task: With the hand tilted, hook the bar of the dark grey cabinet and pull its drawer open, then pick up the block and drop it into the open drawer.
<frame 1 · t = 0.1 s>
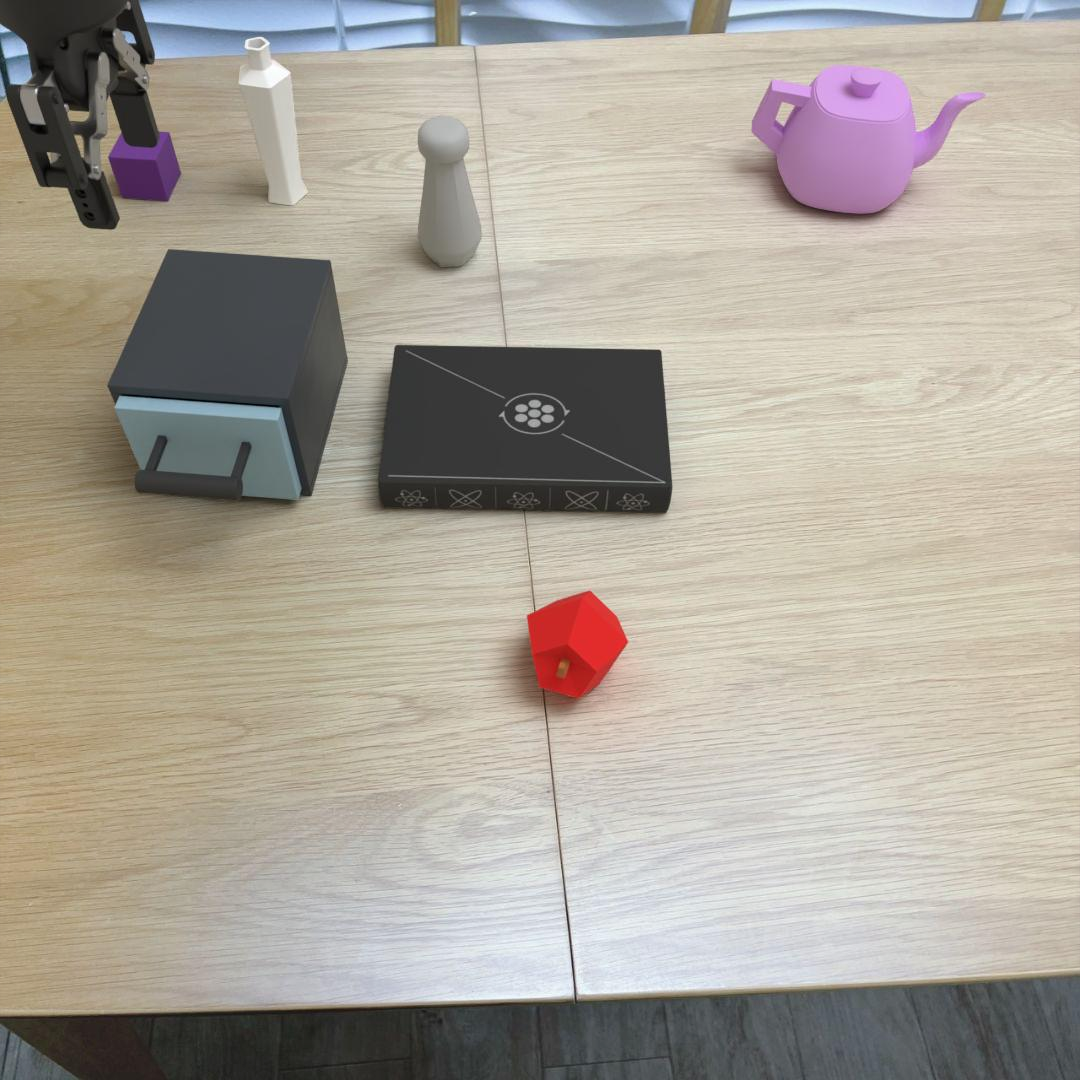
hand: (123, 183, 70), 22 cm above the table, tool pointing down, fingers open, 8 cm apart
book: (526, 441, 87), on the table
perfume bottle: (285, 196, 105), on the table
apple: (572, 665, 75), on the table
salt shaker: (451, 255, 100), on the table
block: (151, 185, 105), on the table
teapot: (844, 182, 108), on the table
drawer: (225, 411, 81), point 5 cm above the table, slide at 0.0 cm
dark grey cabinet: (253, 419, 88), on the table
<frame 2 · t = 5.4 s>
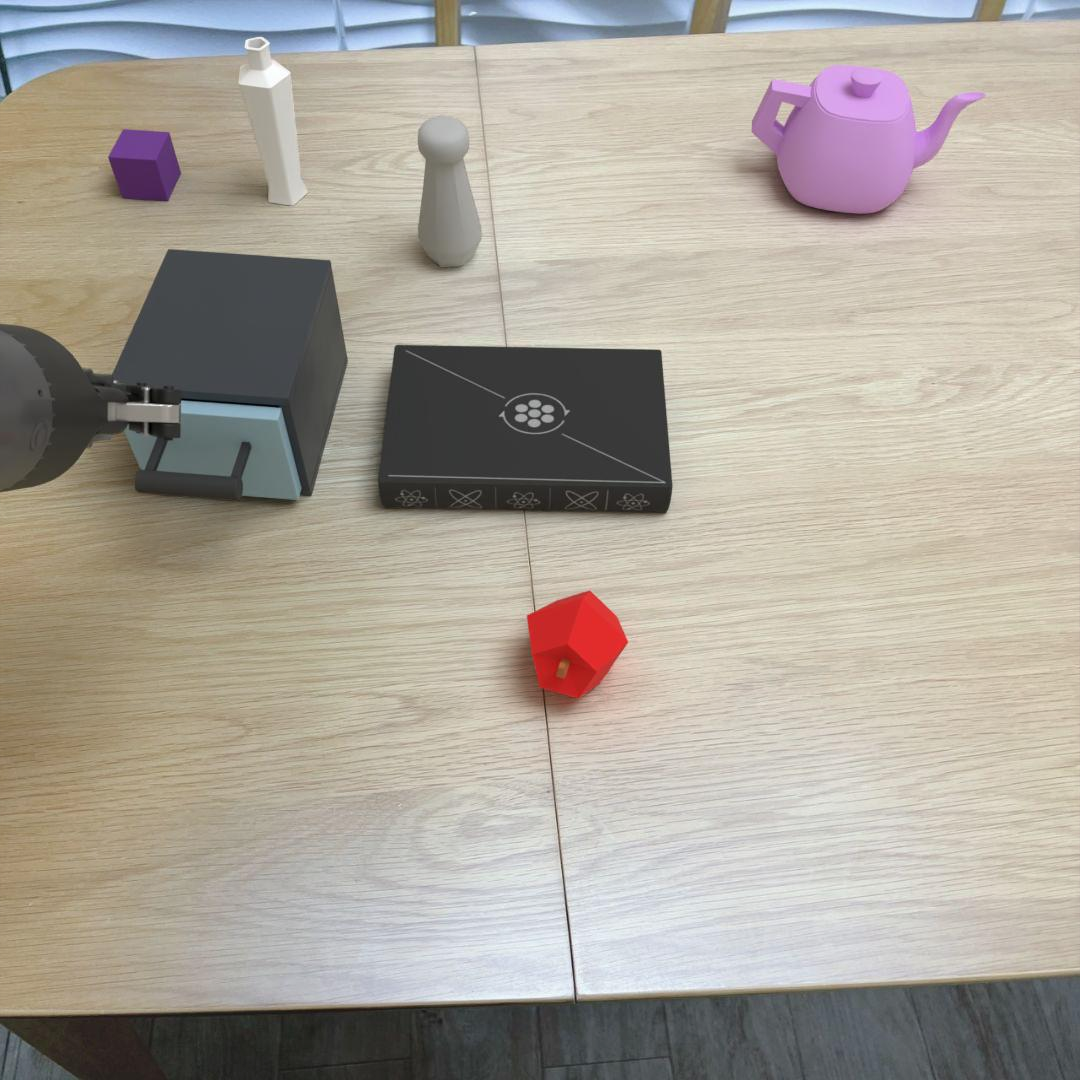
hand: (131, 403, 64), 18 cm above the table, tool tilted 45°, fingers closed
nothing on the table moved.
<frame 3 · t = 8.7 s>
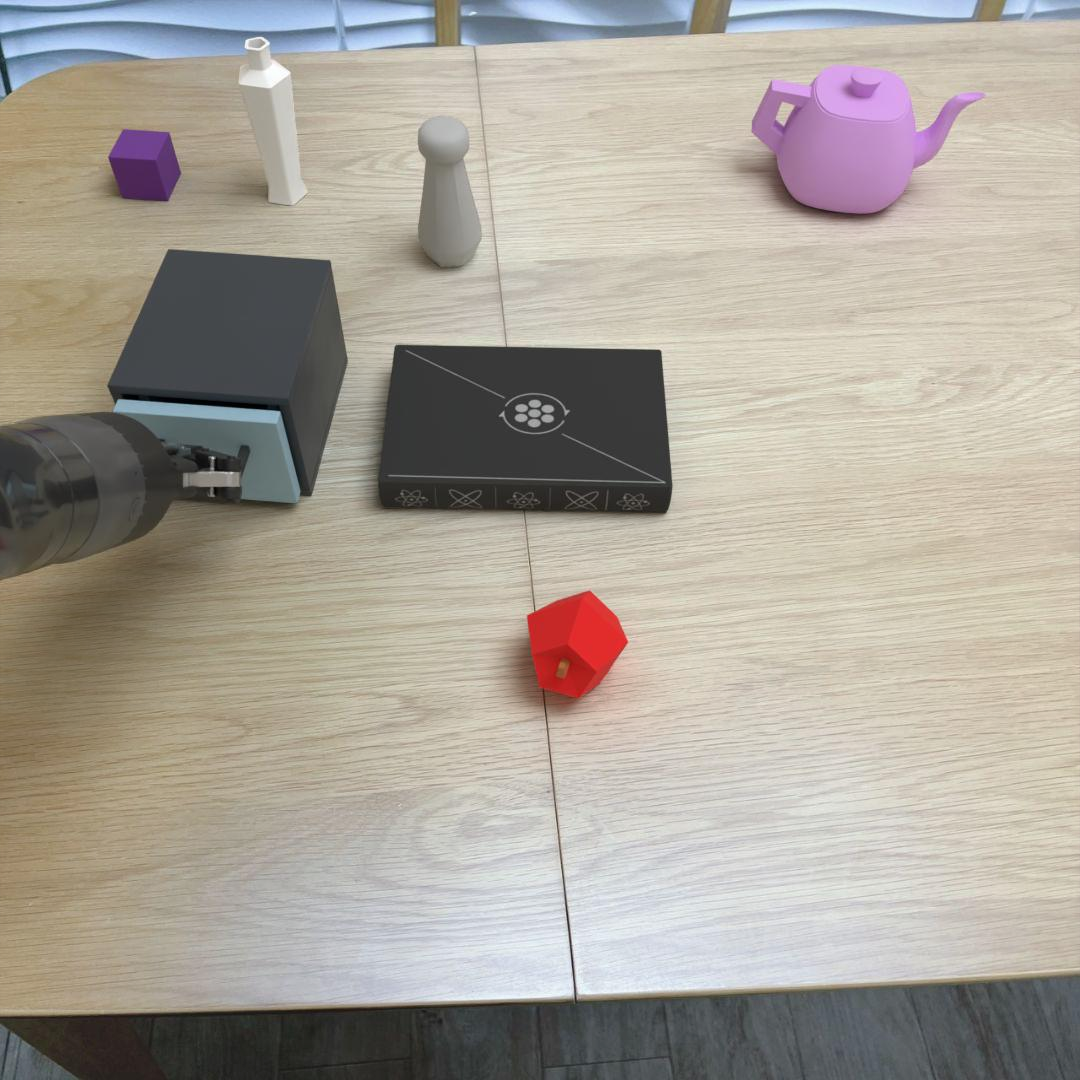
hand: (192, 460, 74), 8 cm above the table, tool tilted 45°, fingers closed
drawer: (224, 414, 81), point 5 cm above the table, slide at 0.3 cm, touching gripper
everything else where it was.
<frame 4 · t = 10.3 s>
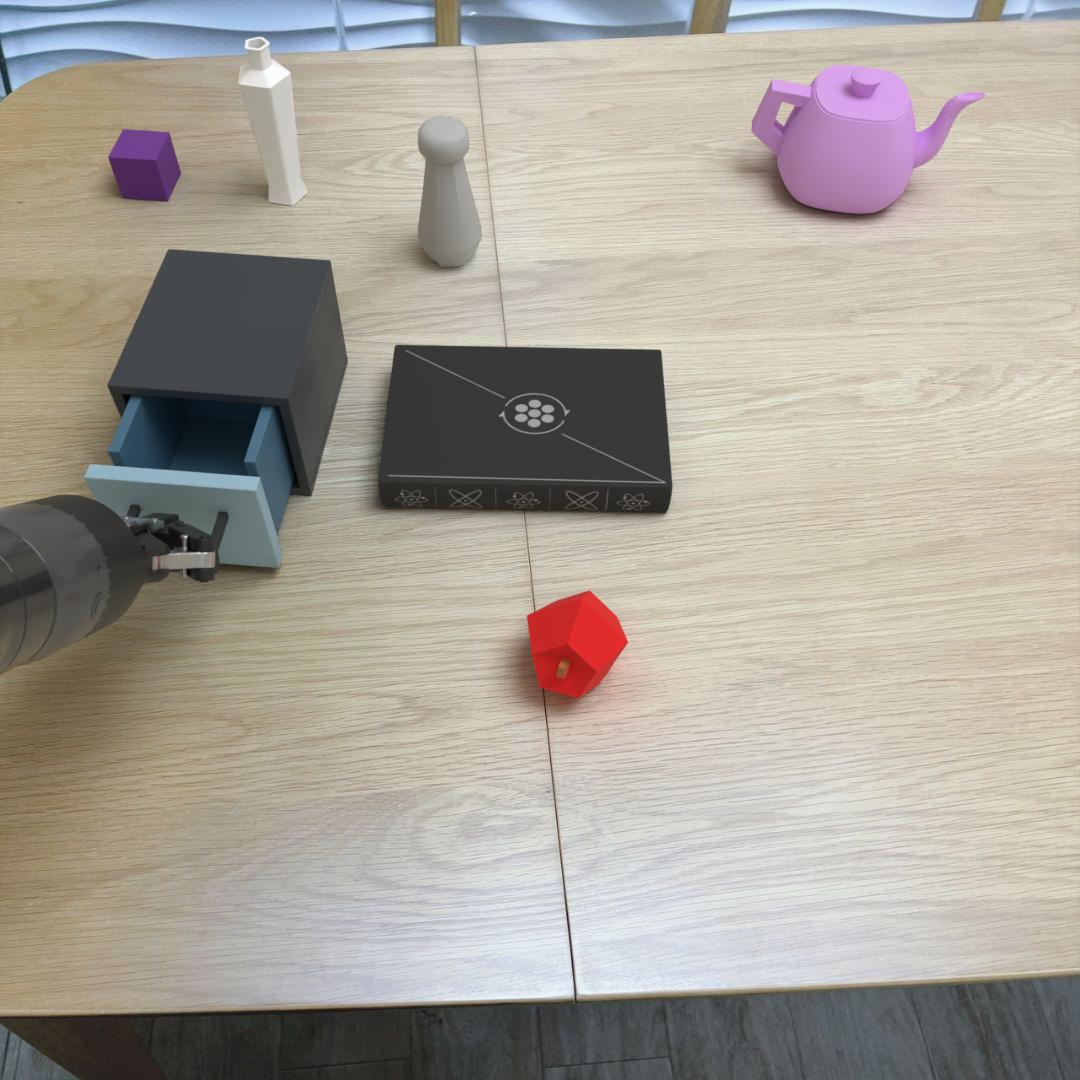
hand: (167, 529, 71), 8 cm above the table, tool tilted 45°, fingers closed
drawer: (202, 476, 77), point 5 cm above the table, slide at 6.2 cm, touching gripper
everything else where it was.
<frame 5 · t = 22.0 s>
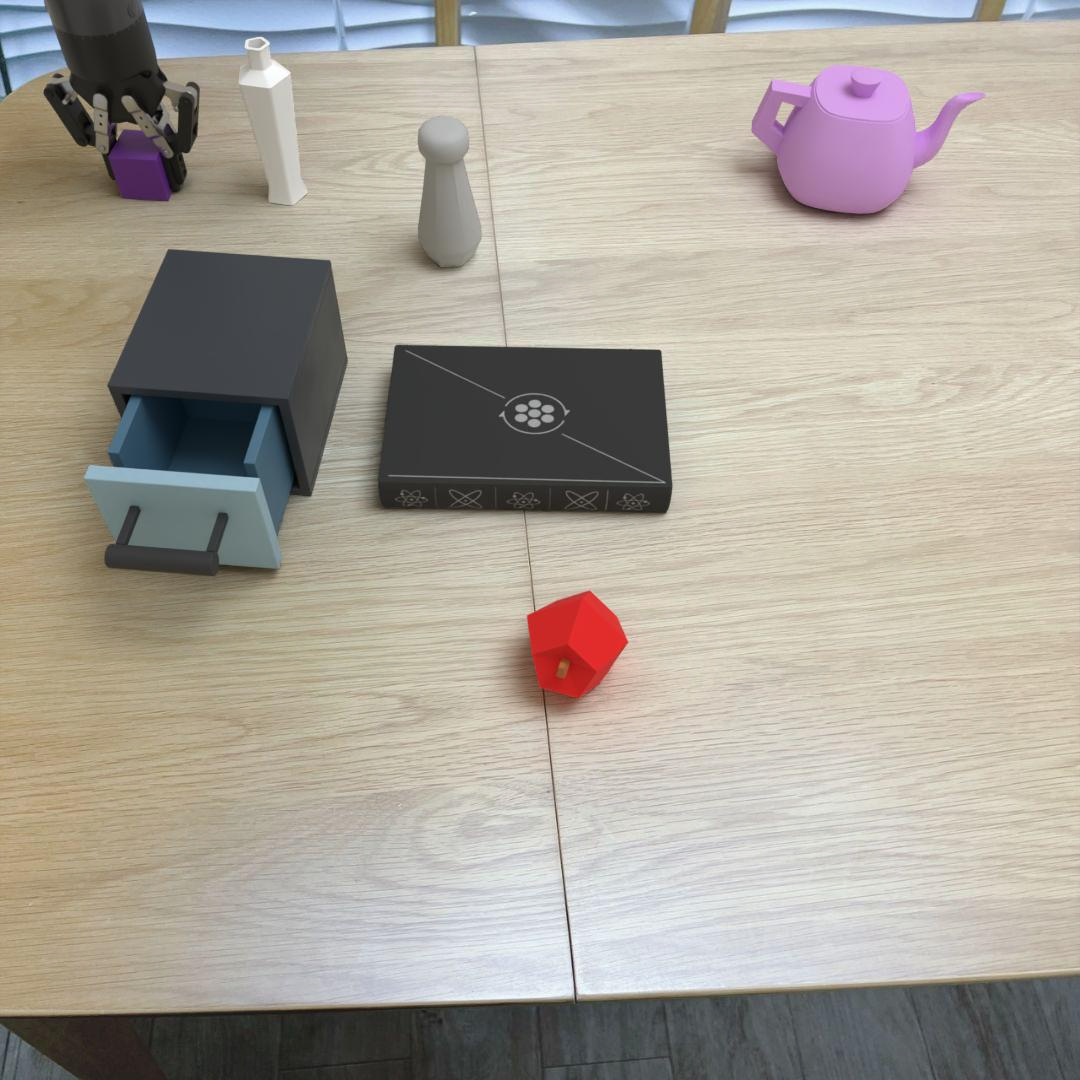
hand: (150, 182, 105), 0 cm above the table, tool pointing down, fingers closed on block, 4 cm apart
block: (152, 185, 105), on the table, touching gripper
drawer: (202, 477, 77), point 5 cm above the table, slide at 6.3 cm
everything else where it was.
when the fingers open (10 cm above the table, at t = 30.7 s): block drops 8 cm, resting on drawer.
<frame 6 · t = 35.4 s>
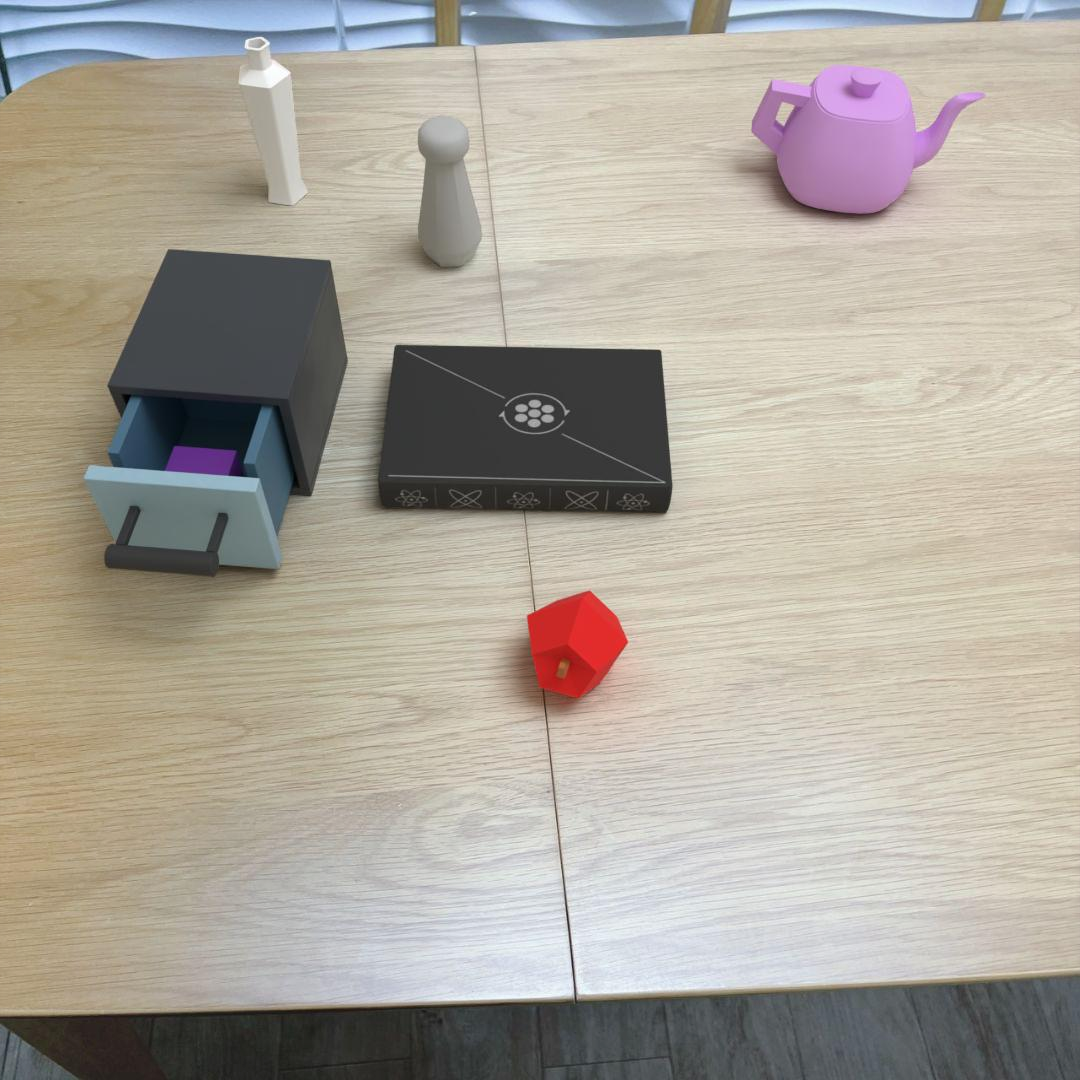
block: (211, 511, 79), point 2 cm above the table, touching drawer
drawer: (202, 477, 77), point 5 cm above the table, slide at 6.3 cm, touching block
everything else where it was.
at the end: drawer slide at 6.3 cm; block inside the target area in the drawer (0.5 cm from its centre), point 2.0 cm above the dark grey cabinet's base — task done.
